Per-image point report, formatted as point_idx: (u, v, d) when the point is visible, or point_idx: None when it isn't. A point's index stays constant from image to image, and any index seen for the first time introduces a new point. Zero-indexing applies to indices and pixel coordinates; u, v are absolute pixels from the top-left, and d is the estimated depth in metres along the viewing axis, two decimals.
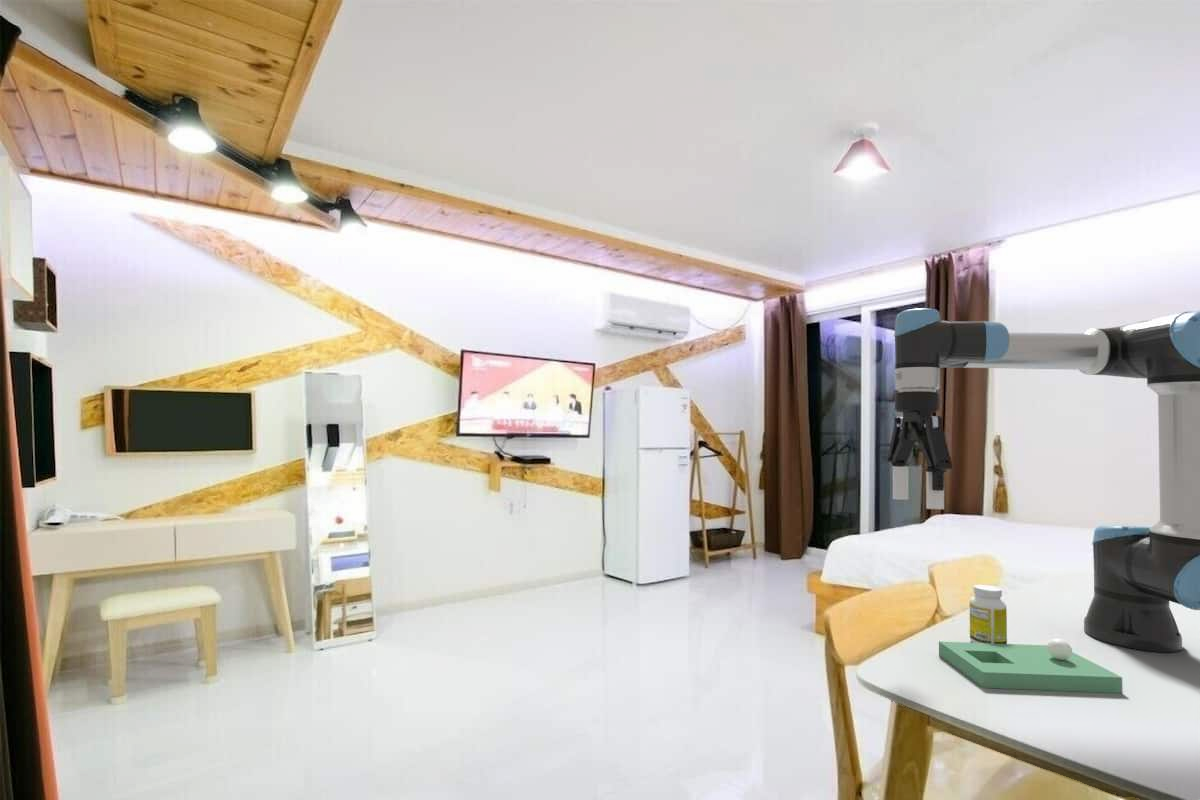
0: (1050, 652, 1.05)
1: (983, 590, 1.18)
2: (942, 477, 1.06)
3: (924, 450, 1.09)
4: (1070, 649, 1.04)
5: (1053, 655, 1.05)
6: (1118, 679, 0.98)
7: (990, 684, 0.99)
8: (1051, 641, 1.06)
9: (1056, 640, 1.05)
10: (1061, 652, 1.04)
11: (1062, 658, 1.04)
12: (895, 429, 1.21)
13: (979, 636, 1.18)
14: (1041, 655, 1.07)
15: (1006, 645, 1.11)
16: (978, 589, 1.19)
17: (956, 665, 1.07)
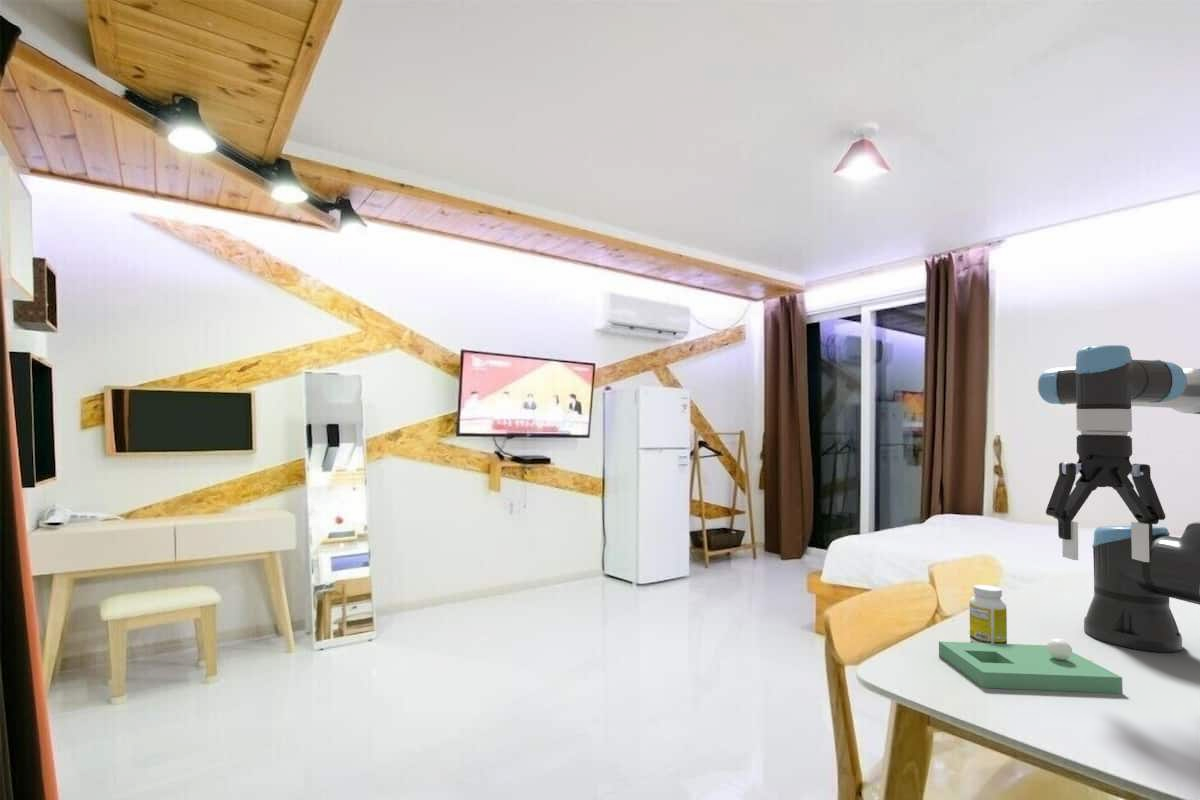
0: (1050, 652, 1.05)
1: (983, 590, 1.18)
2: (1062, 525, 1.06)
3: None
4: (1070, 649, 1.04)
5: (1053, 655, 1.05)
6: (1118, 679, 0.98)
7: (990, 684, 0.99)
8: (1051, 641, 1.06)
9: (1056, 640, 1.05)
10: (1061, 652, 1.04)
11: (1062, 658, 1.04)
12: None
13: (979, 636, 1.18)
14: (1041, 655, 1.07)
15: (1006, 645, 1.11)
16: (978, 589, 1.19)
17: (956, 665, 1.07)
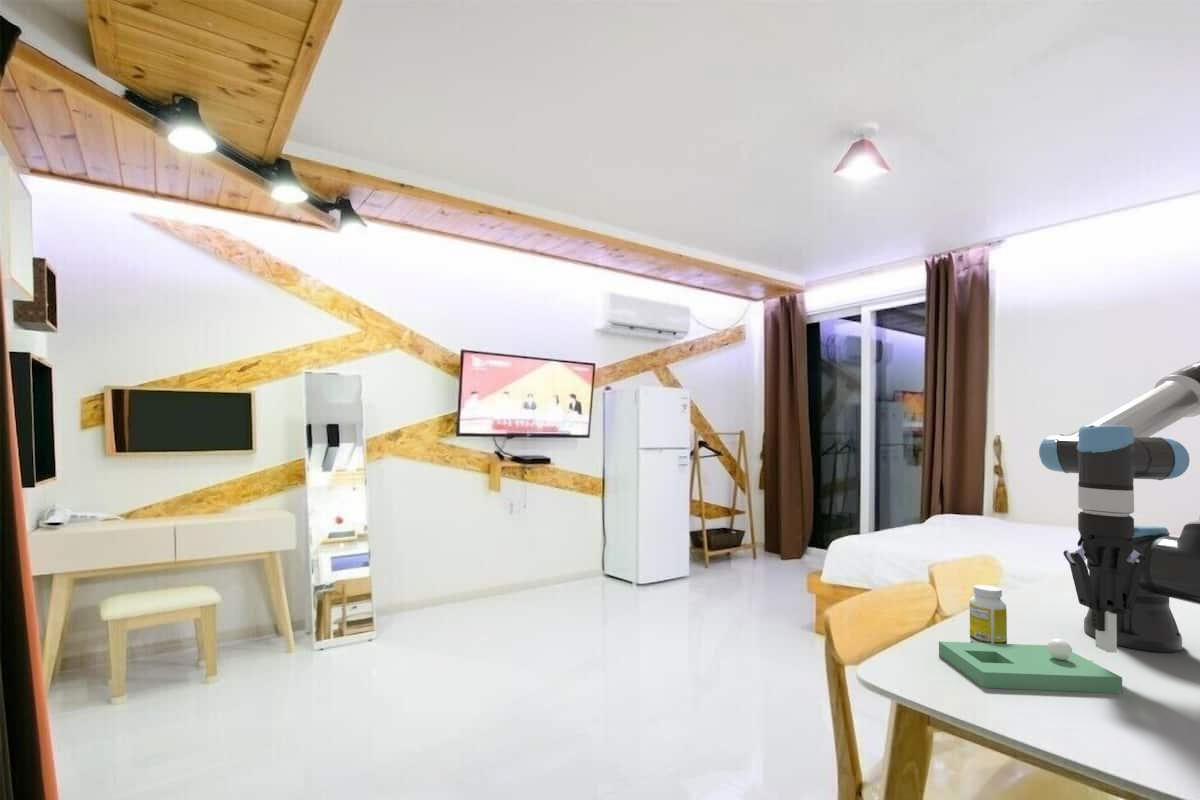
0: (1050, 652, 1.05)
1: (983, 590, 1.18)
2: (1096, 616, 1.05)
3: None
4: (1070, 649, 1.04)
5: (1053, 655, 1.05)
6: (1118, 679, 0.98)
7: (990, 684, 0.99)
8: (1051, 641, 1.06)
9: (1056, 640, 1.05)
10: (1061, 652, 1.04)
11: (1062, 658, 1.04)
12: None
13: (979, 636, 1.18)
14: (1041, 655, 1.07)
15: (1006, 645, 1.11)
16: (978, 589, 1.19)
17: (956, 665, 1.07)
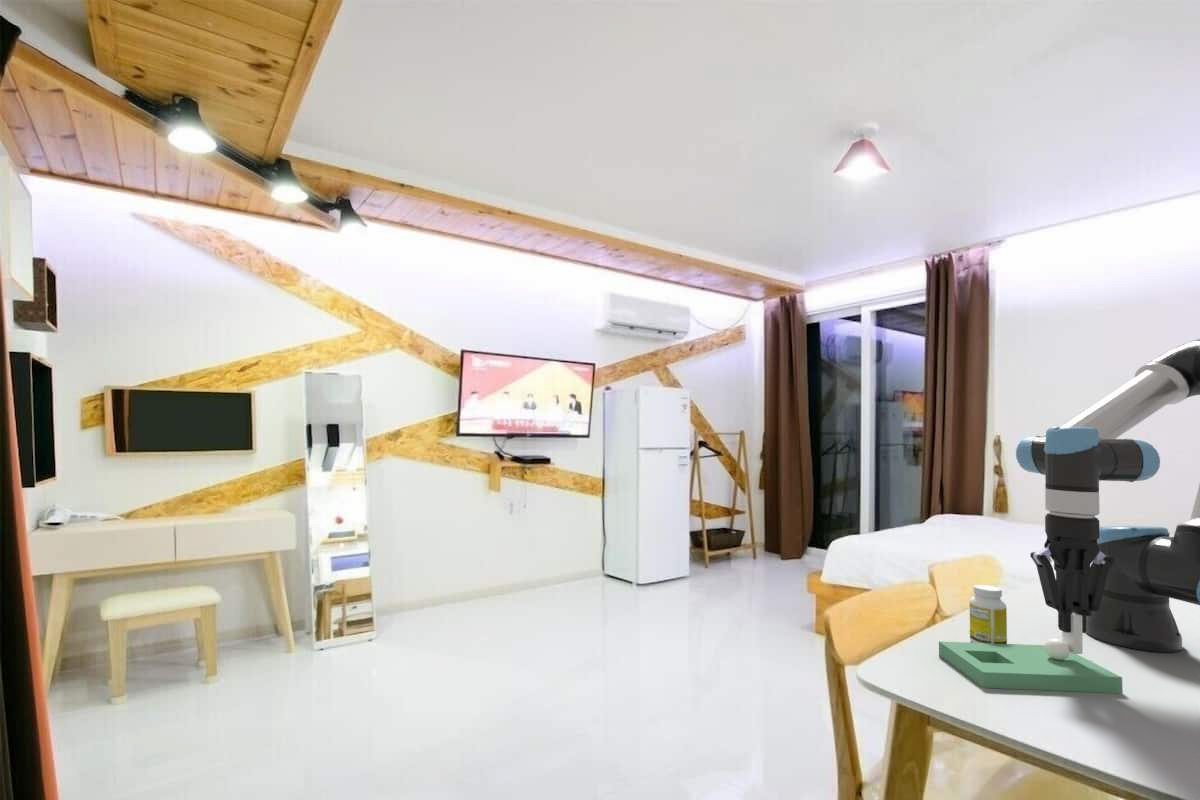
0: (1048, 654, 1.05)
1: (983, 590, 1.18)
2: (1062, 618, 1.05)
3: None
4: (1067, 648, 1.04)
5: (1052, 656, 1.05)
6: (1118, 679, 0.98)
7: (990, 684, 0.99)
8: (1047, 642, 1.06)
9: (1052, 641, 1.05)
10: (1058, 652, 1.04)
11: (1061, 658, 1.04)
12: None
13: (979, 636, 1.18)
14: (1041, 655, 1.07)
15: (1006, 645, 1.11)
16: (978, 589, 1.19)
17: (956, 665, 1.07)
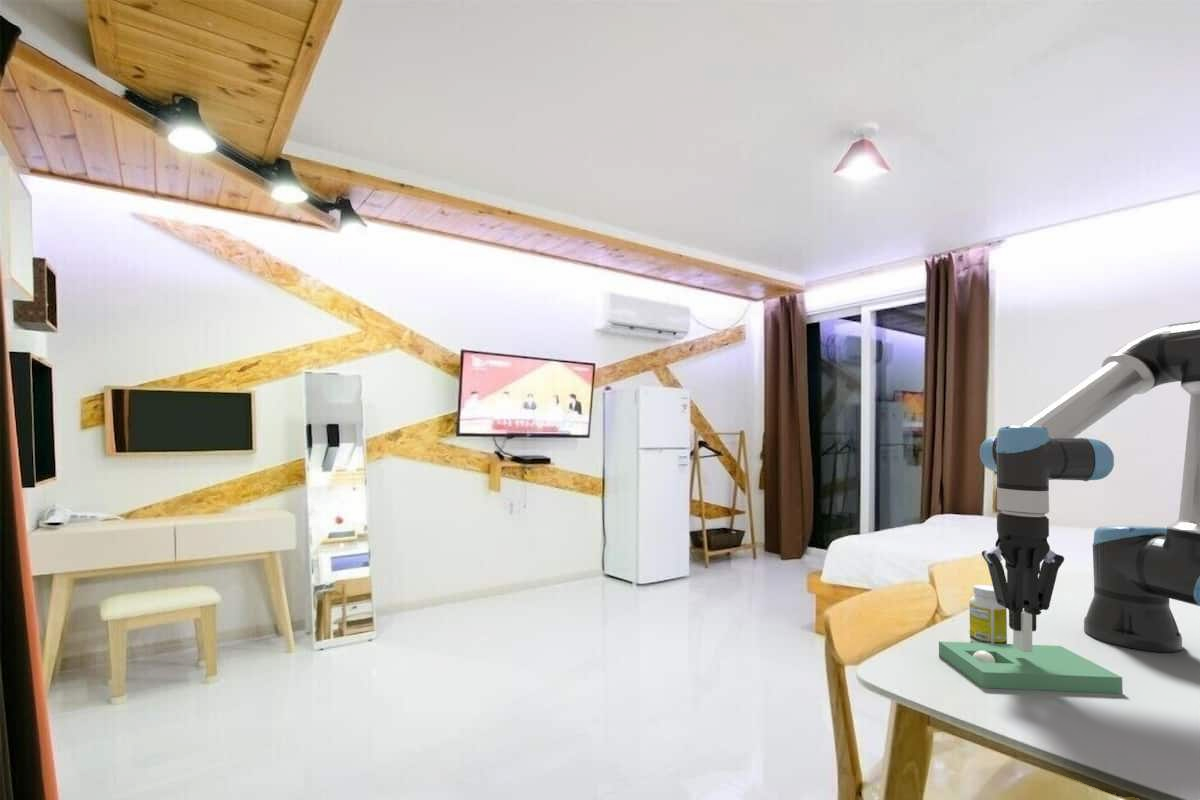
0: None
1: (983, 590, 1.18)
2: (1013, 616, 1.05)
3: None
4: (986, 658, 1.04)
5: None
6: (1118, 679, 0.98)
7: (990, 684, 0.99)
8: None
9: None
10: None
11: None
12: None
13: (979, 636, 1.18)
14: (1041, 655, 1.07)
15: (1006, 645, 1.11)
16: (978, 589, 1.19)
17: (956, 665, 1.07)
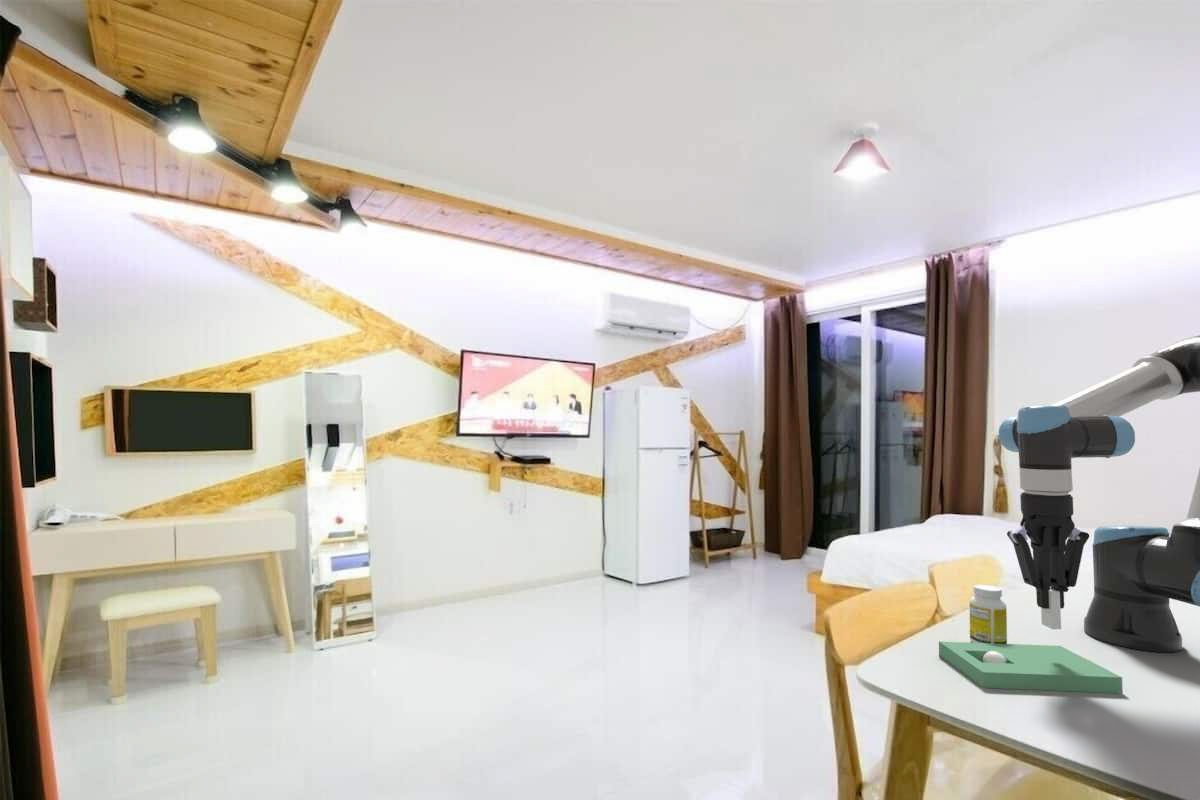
0: None
1: (983, 590, 1.18)
2: (1040, 595, 1.06)
3: None
4: (1003, 660, 1.04)
5: None
6: (1118, 679, 0.98)
7: (990, 684, 0.99)
8: (984, 657, 1.06)
9: (988, 655, 1.05)
10: None
11: None
12: None
13: (979, 636, 1.18)
14: (1041, 655, 1.07)
15: (1006, 645, 1.11)
16: (978, 589, 1.19)
17: (956, 665, 1.07)
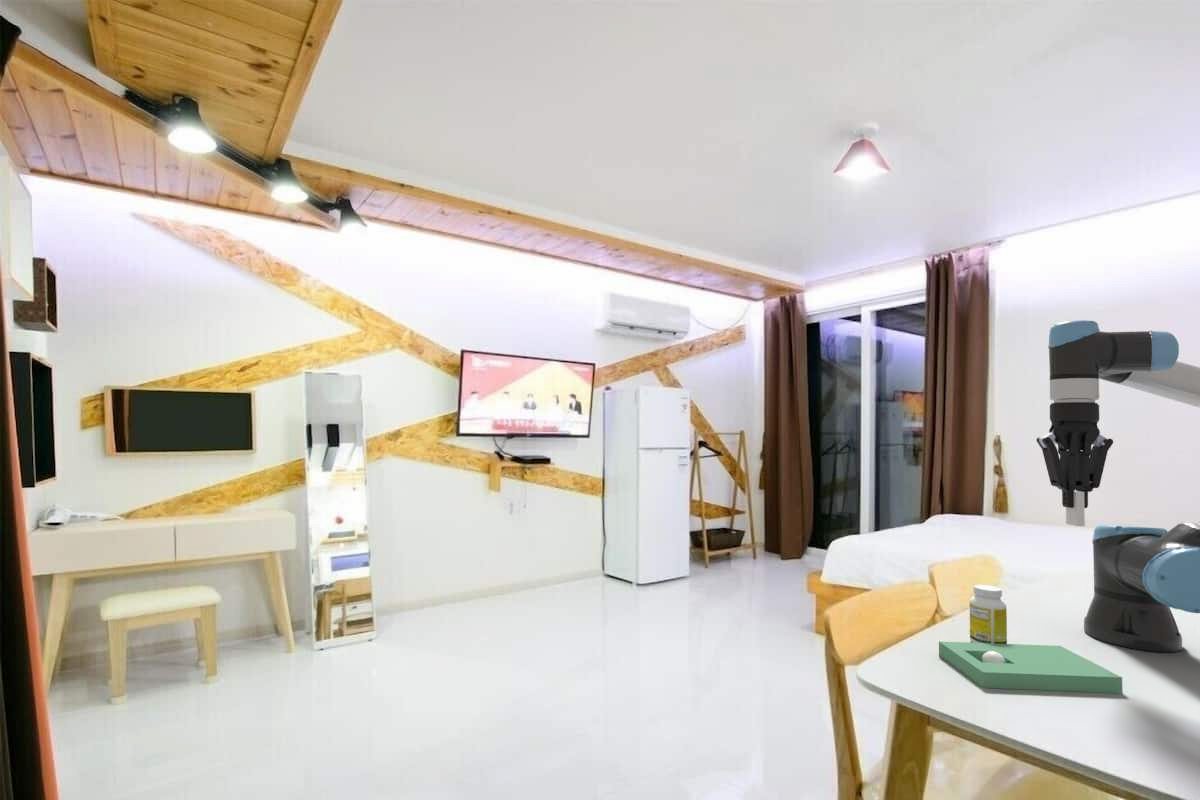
0: None
1: (983, 590, 1.18)
2: (1066, 495, 1.15)
3: (1062, 466, 1.17)
4: (1001, 660, 1.04)
5: None
6: (1118, 679, 0.98)
7: (990, 684, 0.99)
8: (983, 658, 1.06)
9: (986, 656, 1.05)
10: None
11: None
12: None
13: (979, 636, 1.18)
14: (1041, 655, 1.07)
15: (1006, 645, 1.11)
16: (978, 589, 1.19)
17: (956, 665, 1.07)
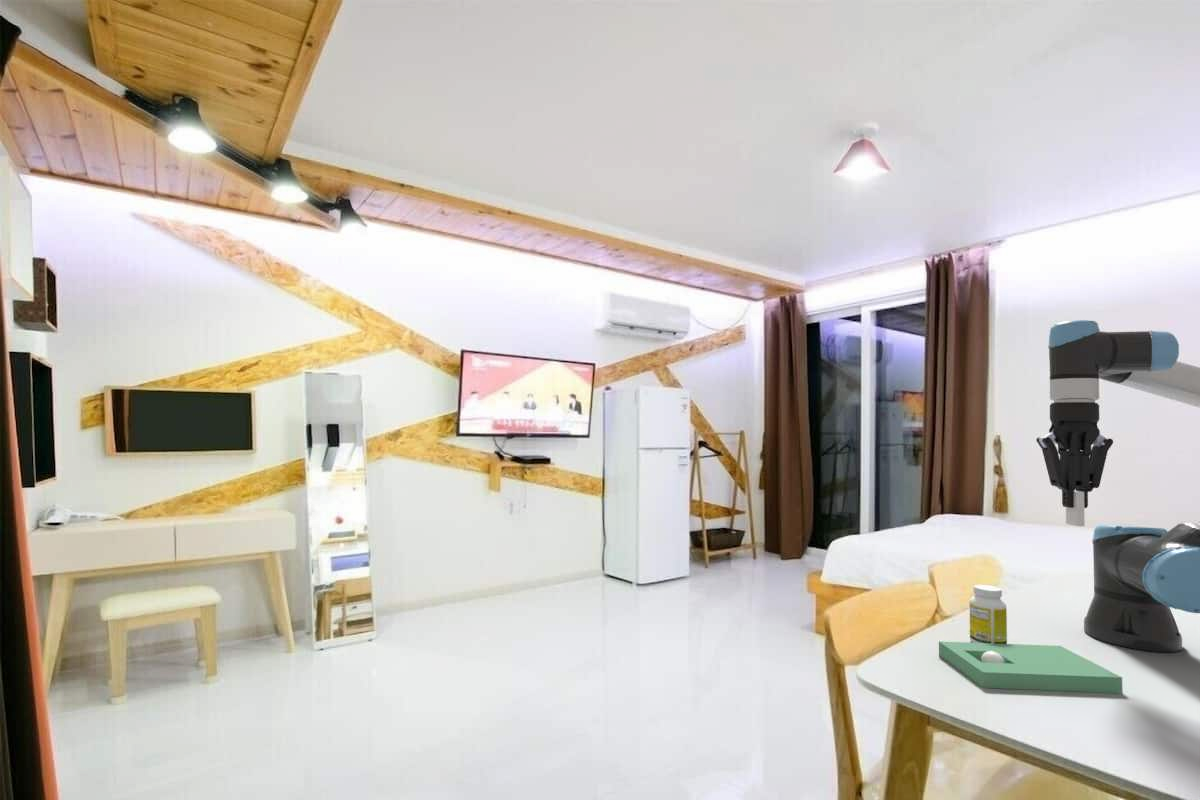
0: None
1: (983, 590, 1.18)
2: (1066, 495, 1.15)
3: (1062, 466, 1.17)
4: (1000, 659, 1.04)
5: None
6: (1118, 679, 0.98)
7: (990, 684, 0.99)
8: (982, 658, 1.06)
9: (985, 656, 1.05)
10: None
11: None
12: None
13: (979, 636, 1.18)
14: (1041, 655, 1.07)
15: (1006, 645, 1.11)
16: (978, 589, 1.19)
17: (956, 665, 1.07)
